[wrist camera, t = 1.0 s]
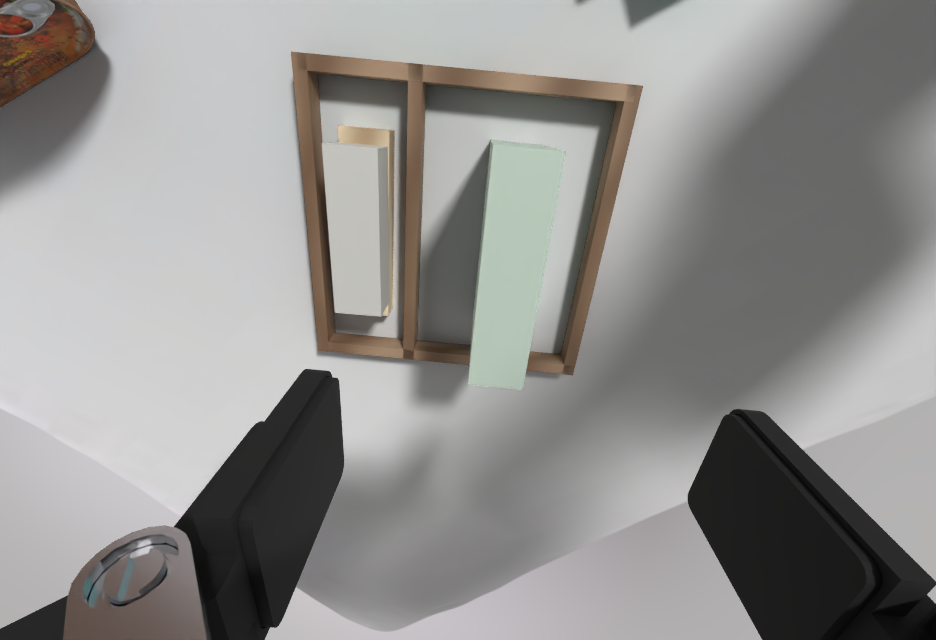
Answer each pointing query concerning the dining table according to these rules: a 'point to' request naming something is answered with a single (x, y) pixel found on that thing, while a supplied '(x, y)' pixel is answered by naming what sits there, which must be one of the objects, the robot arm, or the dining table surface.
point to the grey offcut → (358, 226)
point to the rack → (315, 195)
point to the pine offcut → (387, 139)
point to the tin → (39, 42)
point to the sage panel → (512, 259)
